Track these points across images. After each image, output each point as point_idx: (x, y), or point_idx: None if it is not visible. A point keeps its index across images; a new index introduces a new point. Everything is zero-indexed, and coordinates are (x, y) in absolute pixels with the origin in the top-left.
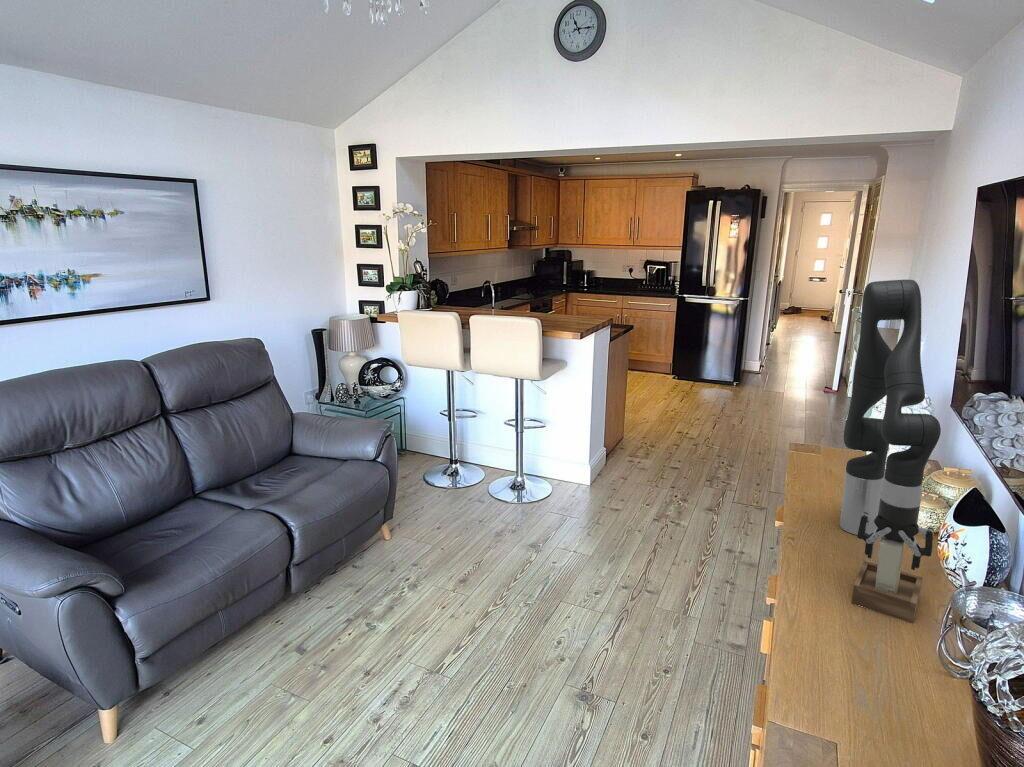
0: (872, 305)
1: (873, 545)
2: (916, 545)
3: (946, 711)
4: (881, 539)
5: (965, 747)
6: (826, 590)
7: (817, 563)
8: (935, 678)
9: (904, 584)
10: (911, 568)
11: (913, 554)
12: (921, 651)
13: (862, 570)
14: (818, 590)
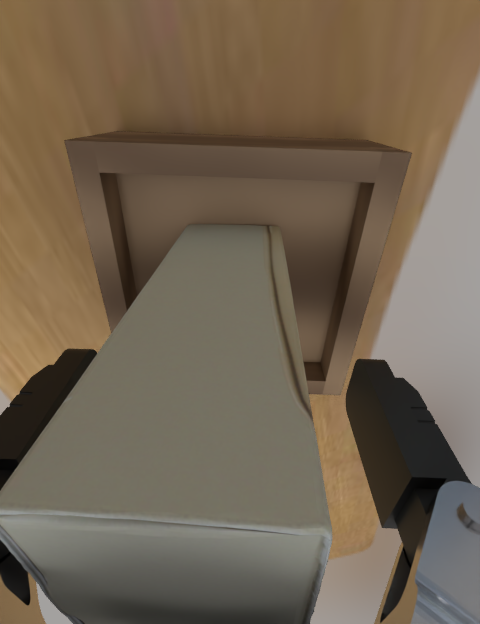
0: None
1: (49, 410)
2: (467, 595)
3: (356, 513)
4: (75, 616)
5: (368, 543)
6: (58, 303)
7: None
8: (351, 471)
9: (304, 220)
10: (348, 412)
11: (389, 518)
12: (334, 423)
13: (105, 266)
14: (40, 316)
